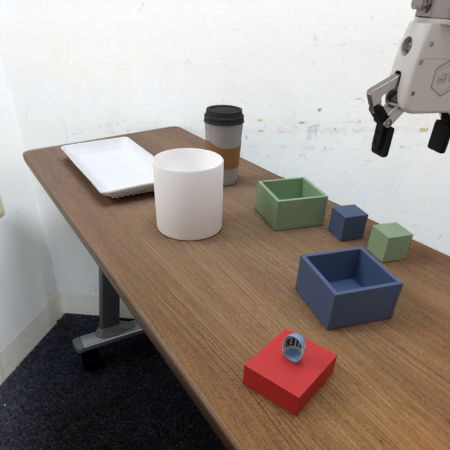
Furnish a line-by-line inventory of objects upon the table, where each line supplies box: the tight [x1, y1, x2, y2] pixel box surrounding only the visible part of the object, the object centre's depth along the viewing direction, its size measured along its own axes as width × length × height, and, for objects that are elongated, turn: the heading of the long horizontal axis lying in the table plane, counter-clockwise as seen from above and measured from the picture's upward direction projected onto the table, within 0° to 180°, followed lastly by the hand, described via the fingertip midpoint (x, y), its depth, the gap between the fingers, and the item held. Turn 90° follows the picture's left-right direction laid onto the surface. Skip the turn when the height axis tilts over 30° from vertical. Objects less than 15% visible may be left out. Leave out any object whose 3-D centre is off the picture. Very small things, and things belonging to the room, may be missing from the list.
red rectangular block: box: [242, 328, 338, 417], centre depth 46 cm, size 8×7×6 cm
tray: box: [60, 136, 155, 198], centre depth 95 cm, size 17×31×4 cm, turn 31°
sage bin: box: [255, 176, 329, 232], centre depth 79 cm, size 10×10×6 cm
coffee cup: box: [203, 104, 245, 187], centre depth 90 cm, size 8×8×15 cm
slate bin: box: [295, 246, 404, 331], centre depth 58 cm, size 10×10×6 cm
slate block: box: [327, 203, 369, 242], centre depth 74 cm, size 4×4×4 cm
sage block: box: [366, 221, 414, 263], centre depth 69 cm, size 4×4×4 cm
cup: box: [152, 147, 224, 242], centre depth 73 cm, size 12×12×12 cm
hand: (407, 152), depth 61 cm, fingers open, 9 cm apart
